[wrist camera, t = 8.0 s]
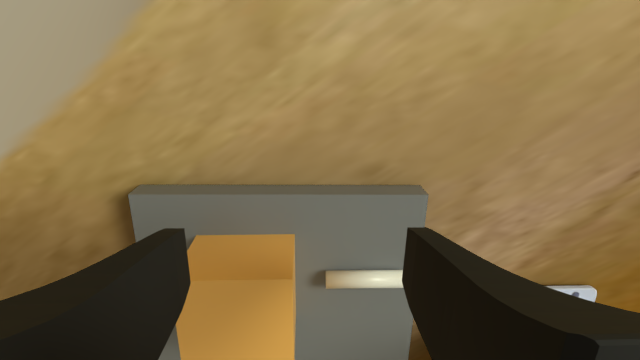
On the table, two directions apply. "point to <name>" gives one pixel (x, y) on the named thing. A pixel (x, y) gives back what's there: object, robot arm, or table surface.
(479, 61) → the table surface
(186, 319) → the light wooden brick
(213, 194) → the flat gray rectangular board
